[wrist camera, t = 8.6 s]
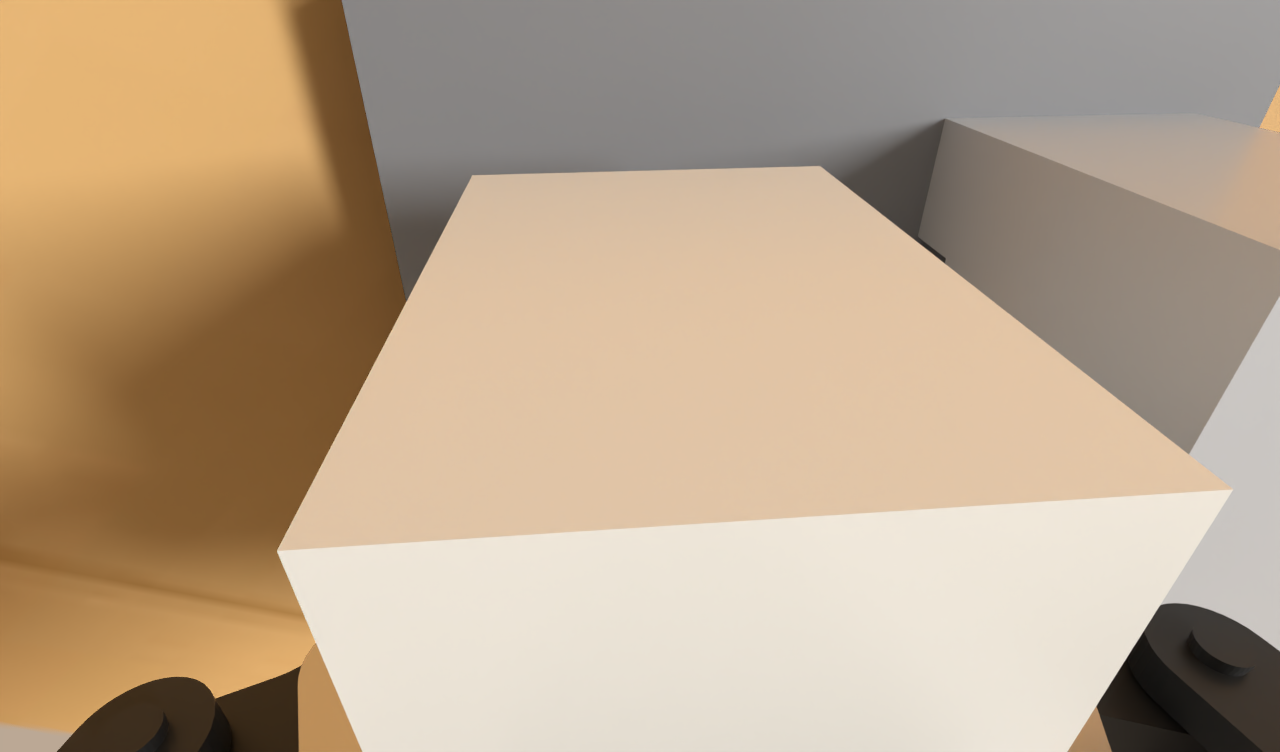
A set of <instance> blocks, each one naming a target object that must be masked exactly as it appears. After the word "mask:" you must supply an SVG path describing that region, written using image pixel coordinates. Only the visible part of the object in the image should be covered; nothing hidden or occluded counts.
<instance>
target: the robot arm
mask: <svg viewBox="0 0 1280 752" xmlns="http://www.w3.org/2000/svg"><path fill="white" fill-rule="evenodd" d="M57 752H362V750H361V747H360V745H359V743H358V740H357V738H356V736H355V733H354V731H353V729H352V726H351V724H350V722H349V719H348V717H347V715H346V712H345V710H344V707H343V705H342V703H341V700H340V698H339V696H338V693H337V691H336V689H335V686H334V684H333V682H332V679H331V677H330V675H329V672H328V670H327V668H326V665H325V663H324V661H323V658H322V656H321V654H320V651H319V649H318V647H317V644H315V645H314V646H313V647H312V648H311V650H310V651H309V653H308V654H307V656H306V658H305V660H304V662H303V664H302V666H300V667H298V668H296V669H294V670H292V671H290V672H288V673H286V674H283V675H281V676H278V677H276V678H273V679H270V680H267V681H264V682H261V683H259V684H256V685H253V686H250V687H247V688H244V689H242V690H239V691H236V692H233V693H230V694H227V695H225V696H222V697H219V698H216V699H215V698H214V696H213V694H212V693H211V691H210V689H209V688H208V687H207V686H206V685H205V684H203V683H201V682H200V681H198V680H195V679H191V678H188V677H170V678H163V679H159V680H154V681H151V682H148V683H145V684H142V685H140V686H137V687H135V688H133V689H131V690H129V691H127V692H125V693H123V694H121V695H120V696H118V697H116V698H114V699H113V700H111V701H110V702H108V703H107V704H106V705H104V706H103V707H101V708H100V709H99V710H98V711H96V712H95V713H94V714H93V715H92V716H90V717H89V718H88V719H87V720H86V721H85V722H84V723H83V724H82V725H81V726H80V727H79V728H78V729H77V730H76V731H75V732H74V733H73V734H72V736H71V737H70V738H69V739H68V740H67V741H66V742H65V743H64V745H63V746H62V747H61V748H60V749H59V750H58V751H57ZM1068 752H1280V651H1279V650H1277V649H1276V648H1275V647H1273V646H1272V645H1271V644H1269V643H1268V642H1267V641H1265V640H1264V639H1263V638H1261V637H1260V636H1259V635H1257V634H1256V633H1254V632H1253V631H1251V630H1250V629H1249V628H1247V627H1245V626H1243V625H1242V624H1240V623H1238V622H1237V621H1235V620H1233V619H1231V618H1229V617H1227V616H1224V615H1222V614H1220V613H1217V612H1215V611H1212V610H1209V609H1206V608H1203V607H1199V606H1195V605H1190V604H1181V603H1168V604H1163V605H1160V606H1159V608H1158V609H1157V611H1156V613H1155V614H1154V616H1153V617H1152V619H1151V620H1150V622H1149V624H1148V625H1147V627H1146V628H1145V630H1144V631H1143V633H1142V635H1141V636H1140V638H1139V639H1138V641H1137V643H1136V644H1135V646H1134V647H1133V649H1132V650H1131V652H1130V654H1129V655H1128V657H1127V658H1126V660H1125V662H1124V663H1123V665H1122V666H1121V668H1120V669H1119V671H1118V673H1117V674H1116V676H1115V677H1114V679H1113V680H1112V682H1111V684H1110V685H1109V687H1108V688H1107V690H1106V692H1105V693H1104V695H1103V696H1102V698H1101V699H1100V701H1099V703H1098V704H1097V706H1096V707H1095V709H1094V710H1093V712H1092V714H1091V715H1090V717H1089V718H1088V720H1087V722H1086V723H1085V725H1084V726H1083V728H1082V729H1081V731H1080V733H1079V734H1078V736H1077V737H1076V739H1075V740H1074V742H1073V744H1072V745H1071V747H1070V748H1069V750H1068Z"/></svg>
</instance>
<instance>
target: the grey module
mask: <svg viewBox="0 0 1280 752" xmlns="http://www.w3.org/2000/svg"><path fill="white" fill-rule="evenodd" d="M918 237H919V238H920V239H921V240H923V241H924V242H925V243H927V244H928V245H929V246H931V247H932V248H933V249H934V250H936V251H937V252H938V253H940V254H941V255H942V256H944V257H945V258H946V260H945V264H946V265H947V266H949V267H950V268H951V269H952V270H954V271H955V272H956V273H957V274H959V275H960V276H961V277H963V278H964V279H965V280H966V281H968V282H969V283H970V284H972V285H973V286H974V287H975V288H977V289H978V290H979V291H980V292H982V293H983V294H984V295H986V296H987V297H988V298H989V299H991V300H992V301H993V302H995V303H996V304H997V305H998V306H1000V307H1001V308H1002V309H1003V310H1005V311H1006V312H1007V313H1009V314H1010V315H1011V316H1012V317H1014V318H1015V319H1016V320H1018V321H1019V322H1020V323H1021V324H1023V325H1024V326H1025V327H1026V328H1028V329H1029V330H1030V331H1032V332H1033V333H1034V334H1035V335H1037V336H1038V337H1039V338H1041V339H1042V340H1043V341H1044V342H1046V343H1047V344H1048V345H1049V346H1051V347H1052V348H1053V349H1055V350H1056V351H1057V352H1058V353H1060V354H1061V355H1062V356H1064V357H1065V358H1066V359H1067V360H1069V361H1070V362H1071V363H1072V364H1074V365H1075V366H1076V367H1078V368H1079V369H1080V370H1081V371H1083V372H1084V373H1085V374H1087V375H1088V376H1089V377H1090V378H1092V379H1093V380H1094V381H1095V382H1097V383H1098V384H1099V385H1101V386H1102V387H1103V388H1104V389H1106V390H1107V391H1108V392H1110V393H1111V394H1112V395H1113V396H1115V397H1116V398H1117V399H1118V400H1120V401H1121V402H1122V403H1124V404H1125V405H1126V406H1127V407H1129V408H1130V409H1131V410H1133V411H1134V412H1135V413H1136V414H1138V415H1139V416H1140V417H1141V418H1143V419H1144V420H1145V421H1147V422H1148V423H1149V424H1150V425H1152V426H1153V427H1154V428H1156V429H1157V430H1158V431H1159V432H1161V433H1162V434H1163V435H1164V436H1166V437H1167V438H1168V439H1170V440H1171V441H1172V442H1173V443H1175V444H1176V445H1177V446H1179V447H1180V448H1181V449H1182V450H1184V451H1185V452H1186V453H1187V454H1189V455H1190V456H1191V457H1193V458H1194V459H1195V460H1196V461H1198V462H1199V463H1200V464H1202V465H1203V466H1204V467H1205V468H1207V469H1208V470H1209V471H1210V472H1212V473H1213V474H1214V475H1216V476H1217V477H1218V478H1219V479H1221V480H1222V481H1223V482H1224V483H1226V484H1227V485H1228V486H1230V487H1231V488H1232V489H1233V491H1232V492H1231V494H1230V496H1229V497H1228V499H1227V500H1226V502H1225V504H1224V505H1223V507H1222V508H1221V510H1220V511H1219V513H1218V515H1217V516H1216V518H1215V519H1214V521H1213V522H1212V524H1211V526H1210V527H1209V529H1208V530H1207V532H1206V534H1205V535H1204V537H1203V538H1202V540H1201V541H1200V543H1199V545H1198V546H1197V548H1196V549H1195V551H1194V553H1193V554H1192V556H1191V557H1190V559H1189V560H1188V562H1187V564H1186V565H1185V567H1184V568H1183V570H1182V571H1181V573H1180V575H1179V576H1178V578H1177V579H1176V581H1175V583H1174V584H1173V586H1172V587H1171V589H1170V590H1169V592H1168V594H1167V595H1166V597H1165V598H1164V600H1163V601H1162V603H1161V605H1163V604H1168V603H1181V604H1190V605H1195V606H1199V607H1203V608H1206V609H1209V610H1212V611H1215V612H1217V613H1220V614H1222V615H1224V616H1227V617H1229V618H1231V619H1233V620H1235V621H1237V622H1238V623H1240V624H1242V625H1243V626H1245V627H1247V628H1249V629H1250V630H1251V631H1253V632H1254V633H1256V634H1257V635H1259V636H1260V637H1261V638H1263V639H1264V640H1265V641H1267V642H1268V643H1269V644H1271V645H1272V646H1273V647H1275V648H1276V649H1277V650H1279V651H1280V132H1275V131H1271V130H1266V129H1262V128H1258V127H1253V126H1249V125H1244V124H1240V123H1236V122H1231V121H1227V120H1222V119H1218V118H1214V117H1209V116H1205V115H1200V114H1196V113H1181V114H1132V115H1084V116H1035V117H986V118H945V122H944V126H943V130H942V135H941V139H940V143H939V147H938V152H937V156H936V160H935V165H934V169H933V173H932V177H931V182H930V186H929V190H928V195H927V199H926V203H925V207H924V212H923V216H922V220H921V224H920V229H919V233H918Z"/></svg>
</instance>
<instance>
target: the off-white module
mask: <svg viewBox="0 0 1280 752" xmlns="http://www.w3.org/2000/svg"><path fill="white" fill-rule="evenodd" d="M1232 491H1233V489H1232V488H1231V487H1230V486H1228V485H1227V484H1226V483H1224V482H1223V481H1222V480H1221V479H1219V478H1218V477H1217V476H1216V475H1214V474H1213V473H1212V472H1210V471H1209V470H1208V469H1207V468H1205V467H1204V466H1203V465H1202V464H1200V463H1199V462H1198V461H1196V460H1195V459H1194V458H1193V457H1191V456H1190V455H1189V454H1187V453H1186V452H1185V451H1184V450H1182V449H1181V448H1180V447H1179V446H1177V445H1176V444H1175V443H1173V442H1172V441H1171V440H1170V439H1168V438H1167V437H1166V436H1164V435H1163V434H1162V433H1161V432H1159V431H1158V430H1157V429H1156V428H1154V427H1153V426H1152V425H1150V424H1149V423H1148V422H1147V421H1145V420H1144V419H1143V418H1141V417H1140V416H1139V415H1138V414H1136V413H1135V412H1134V411H1133V410H1131V409H1130V408H1129V407H1127V406H1126V405H1125V404H1124V403H1122V402H1121V401H1120V400H1118V399H1117V398H1116V397H1115V396H1113V395H1112V394H1111V393H1110V392H1108V391H1107V390H1106V389H1104V388H1103V387H1102V386H1101V385H1099V384H1098V383H1097V382H1095V381H1094V380H1093V379H1092V378H1090V377H1089V376H1088V375H1087V374H1085V373H1084V372H1083V371H1081V370H1080V369H1079V368H1078V367H1076V366H1075V365H1074V364H1072V363H1071V362H1070V361H1069V360H1067V359H1066V358H1065V357H1064V356H1062V355H1061V354H1060V353H1058V352H1057V351H1056V350H1055V349H1053V348H1052V347H1051V346H1049V345H1048V344H1047V343H1046V342H1044V341H1043V340H1042V339H1041V338H1039V337H1038V336H1037V335H1035V334H1034V333H1033V332H1032V331H1030V330H1029V329H1028V328H1026V327H1025V326H1024V325H1023V324H1021V323H1020V322H1019V321H1018V320H1016V319H1015V318H1014V317H1012V316H1011V315H1010V314H1009V313H1007V312H1006V311H1005V310H1003V309H1002V308H1001V307H1000V306H998V305H997V304H996V303H995V302H993V301H992V300H991V299H989V298H988V297H987V296H986V295H984V294H983V293H982V292H980V291H979V290H978V289H977V288H975V287H974V286H973V285H972V284H970V283H969V282H968V281H966V280H965V279H964V278H963V277H961V276H960V275H959V274H957V273H956V272H955V271H954V270H952V269H951V268H950V267H949V266H947V265H946V264H945V263H943V262H942V261H941V260H940V259H938V258H937V257H936V256H934V255H933V254H932V253H931V252H929V251H928V250H927V249H926V248H924V247H923V246H922V245H920V244H919V243H918V242H917V241H915V240H914V239H913V238H911V237H910V236H909V235H908V234H906V233H905V232H904V231H903V230H901V229H900V228H899V227H897V226H896V225H895V224H894V223H892V222H891V221H890V220H888V219H887V218H886V217H885V216H883V215H882V214H881V213H880V212H878V211H877V210H876V209H874V208H873V207H872V206H871V205H869V204H868V203H867V202H865V201H864V200H863V199H862V198H860V197H859V196H858V195H857V194H855V193H854V192H853V191H851V190H850V189H849V188H848V187H846V186H845V185H844V184H842V183H841V182H840V181H839V180H837V179H836V178H835V177H834V176H832V175H831V174H830V173H828V172H827V171H826V170H825V169H823V168H822V167H821V166H802V167H764V168H726V169H689V170H651V171H614V172H576V173H538V174H501V175H472V177H471V179H470V181H469V183H468V185H467V187H466V189H465V190H464V192H463V194H462V196H461V198H460V200H459V202H458V204H457V206H456V208H455V210H454V212H453V214H452V215H451V217H450V219H449V221H448V223H447V225H446V227H445V229H444V231H443V233H442V235H441V237H440V238H439V240H438V242H437V244H436V246H435V248H434V250H433V252H432V254H431V256H430V258H429V260H428V262H427V263H426V265H425V267H424V269H423V271H422V273H421V275H420V277H419V279H418V281H417V283H416V285H415V286H414V288H413V290H412V292H411V294H410V296H409V298H408V300H407V302H406V304H405V306H404V308H403V310H402V311H401V313H400V315H399V317H398V319H397V321H396V323H395V325H394V327H393V329H392V331H391V333H390V334H389V336H388V338H387V340H386V342H385V344H384V346H383V348H382V350H381V352H380V354H379V356H378V358H377V359H376V361H375V363H374V365H373V367H372V369H371V371H370V373H369V375H368V377H367V379H366V381H365V382H364V384H363V386H362V388H361V390H360V392H359V394H358V396H357V398H356V400H355V402H354V404H353V406H352V407H351V409H350V411H349V413H348V415H347V417H346V419H345V421H344V423H343V425H342V427H341V429H340V431H339V432H338V434H337V436H336V438H335V440H334V442H333V444H332V446H331V448H330V450H329V452H328V454H327V455H326V457H325V459H324V461H323V463H322V465H321V467H320V469H319V471H318V473H317V475H316V477H315V479H314V480H313V482H312V484H311V486H310V488H309V490H308V492H307V494H306V496H305V498H304V500H303V502H302V503H301V505H300V507H299V509H298V511H297V513H296V515H295V517H294V519H293V521H292V523H291V525H290V527H289V528H288V530H287V532H286V534H285V536H284V538H283V540H282V542H281V544H280V546H279V548H278V550H277V553H278V555H279V557H280V560H281V562H282V564H283V567H284V569H285V571H286V574H287V576H288V579H289V581H290V583H291V586H292V588H293V590H294V593H295V595H296V597H297V600H298V602H299V604H300V607H301V609H302V611H303V614H304V616H305V618H306V621H307V623H308V625H309V628H310V630H311V632H312V635H313V637H314V639H315V642H316V644H317V647H318V649H319V651H320V654H321V656H322V658H323V661H324V663H325V665H326V668H327V670H328V672H329V675H330V677H331V679H332V682H333V684H334V686H335V689H336V691H337V693H338V696H339V698H340V700H341V703H342V705H343V707H344V710H345V712H346V715H347V717H348V719H349V722H350V724H351V726H352V729H353V731H354V733H355V736H356V738H357V740H358V743H359V745H360V747H361V750H362V752H1068V750H1069V748H1070V747H1071V745H1072V744H1073V742H1074V740H1075V739H1076V737H1077V736H1078V734H1079V733H1080V731H1081V729H1082V728H1083V726H1084V725H1085V723H1086V722H1087V720H1088V718H1089V717H1090V715H1091V714H1092V712H1093V710H1094V709H1095V707H1096V706H1097V704H1098V703H1099V701H1100V699H1101V698H1102V696H1103V695H1104V693H1105V692H1106V690H1107V688H1108V687H1109V685H1110V684H1111V682H1112V680H1113V679H1114V677H1115V676H1116V674H1117V673H1118V671H1119V669H1120V668H1121V666H1122V665H1123V663H1124V662H1125V660H1126V658H1127V657H1128V655H1129V654H1130V652H1131V650H1132V649H1133V647H1134V646H1135V644H1136V643H1137V641H1138V639H1139V638H1140V636H1141V635H1142V633H1143V631H1144V630H1145V628H1146V627H1147V625H1148V624H1149V622H1150V620H1151V619H1152V617H1153V616H1154V614H1155V613H1156V611H1157V609H1158V608H1159V606H1160V605H1161V603H1162V601H1163V600H1164V598H1165V597H1166V595H1167V594H1168V592H1169V590H1170V589H1171V587H1172V586H1173V584H1174V583H1175V581H1176V579H1177V578H1178V576H1179V575H1180V573H1181V571H1182V570H1183V568H1184V567H1185V565H1186V564H1187V562H1188V560H1189V559H1190V557H1191V556H1192V554H1193V553H1194V551H1195V549H1196V548H1197V546H1198V545H1199V543H1200V541H1201V540H1202V538H1203V537H1204V535H1205V534H1206V532H1207V530H1208V529H1209V527H1210V526H1211V524H1212V522H1213V521H1214V519H1215V518H1216V516H1217V515H1218V513H1219V511H1220V510H1221V508H1222V507H1223V505H1224V504H1225V502H1226V500H1227V499H1228V497H1229V496H1230V494H1231V492H1232Z"/></svg>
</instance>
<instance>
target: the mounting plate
mask: <svg viewBox="0 0 1280 752" xmlns="http://www.w3.org/2000/svg"><path fill="white" fill-rule="evenodd" d="M342 4H343V9H344V14H345V18H346V23H347V28H348V32H349V37H350V42H351V46H352V51H353V56H354V60H355V65H356V70H357V74H358V79H359V84H360V88H361V93H362V98H363V102H364V107H365V112H366V116H367V121H368V126H369V130H370V135H371V140H372V144H373V149H374V154H375V158H376V163H377V168H378V172H379V177H380V182H381V186H382V191H383V196H384V200H385V205H386V210H387V214H388V219H389V224H390V228H391V233H392V238H393V242H394V247H395V252H396V256H397V261H398V266H399V270H400V275H401V280H402V284H403V289H404V294H405V298H406V302H407V300H408V298H409V296H410V294H411V292H412V290H413V288H414V286H415V285H416V283H417V281H418V279H419V277H420V275H421V273H422V271H423V269H424V267H425V265H426V263H427V262H428V260H429V258H430V256H431V254H432V252H433V250H434V248H435V246H436V244H437V242H438V240H439V238H440V237H441V235H442V233H443V231H444V229H445V227H446V225H447V223H448V221H449V219H450V217H451V215H452V214H453V212H454V210H455V208H456V206H457V204H458V202H459V200H460V198H461V196H462V194H463V192H464V190H465V189H466V187H467V185H468V183H469V181H470V179H471V177H472V175H501V174H538V173H576V172H614V171H651V170H689V169H726V168H764V167H802V166H821V167H822V168H823V169H825V170H826V171H827V172H828V173H830V174H831V175H832V176H834V177H835V178H836V179H837V180H839V181H840V182H841V183H842V184H844V185H845V186H846V187H848V188H849V189H850V190H851V191H853V192H854V193H855V194H857V195H858V196H859V197H860V198H862V199H863V200H864V201H865V202H867V203H868V204H869V205H871V206H872V207H873V208H874V209H876V210H877V211H878V212H880V213H881V214H882V215H883V216H885V217H886V218H887V219H888V220H890V221H891V222H892V223H894V224H895V225H896V226H897V227H899V228H900V229H901V230H903V231H904V232H905V233H906V234H908V235H909V236H910V237H911V238H913V239H914V240H915V241H917V242H918V243H919V244H920V245H922V246H923V247H924V248H926V249H927V250H928V251H929V252H931V253H932V254H933V255H934V256H936V257H937V258H938V259H940V260H941V261H942V262H943V263H945V260H946V258H945V257H944V256H942V255H941V254H940V253H938V252H937V251H936V250H934V249H933V248H932V247H931V246H929V245H928V244H927V243H925V242H924V241H923V240H921V239H920V238H919V237H918V233H919V229H920V224H921V220H922V216H923V212H924V207H925V203H926V199H927V195H928V190H929V186H930V182H931V177H932V173H933V169H934V165H935V160H936V156H937V152H938V147H939V143H940V139H941V135H942V130H943V126H944V122H945V118H986V117H1035V116H1084V115H1132V114H1181V113H1196V114H1200V115H1205V116H1209V117H1214V118H1218V119H1222V120H1227V121H1231V122H1236V123H1240V124H1244V125H1249V126H1253V127H1258V128H1259V127H1260V125H1261V123H1262V121H1263V119H1264V117H1265V114H1266V112H1267V110H1268V108H1269V106H1270V104H1271V102H1272V100H1273V98H1274V96H1275V94H1276V92H1277V90H1278V87H1279V85H1280V0H342Z"/></svg>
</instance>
